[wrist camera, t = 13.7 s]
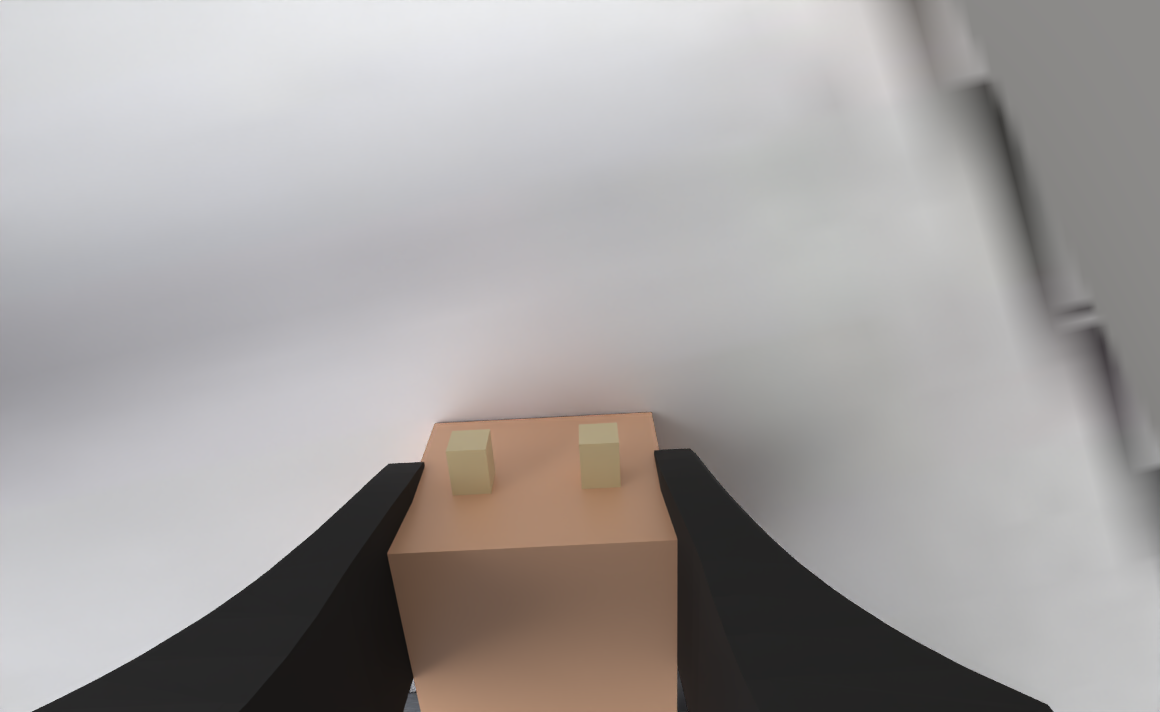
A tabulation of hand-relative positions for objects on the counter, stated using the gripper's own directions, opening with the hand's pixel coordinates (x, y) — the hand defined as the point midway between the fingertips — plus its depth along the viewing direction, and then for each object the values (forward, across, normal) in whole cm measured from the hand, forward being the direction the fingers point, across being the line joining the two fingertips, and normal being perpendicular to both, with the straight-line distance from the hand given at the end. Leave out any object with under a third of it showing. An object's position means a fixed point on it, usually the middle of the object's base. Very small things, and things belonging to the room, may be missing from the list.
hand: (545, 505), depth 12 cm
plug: (+1, 0, +7) cm, 7 cm away
